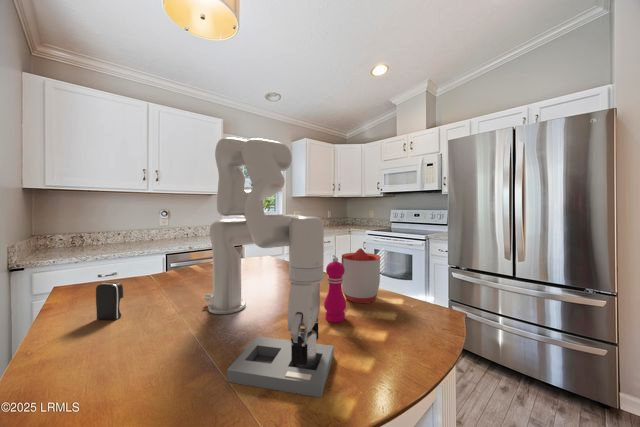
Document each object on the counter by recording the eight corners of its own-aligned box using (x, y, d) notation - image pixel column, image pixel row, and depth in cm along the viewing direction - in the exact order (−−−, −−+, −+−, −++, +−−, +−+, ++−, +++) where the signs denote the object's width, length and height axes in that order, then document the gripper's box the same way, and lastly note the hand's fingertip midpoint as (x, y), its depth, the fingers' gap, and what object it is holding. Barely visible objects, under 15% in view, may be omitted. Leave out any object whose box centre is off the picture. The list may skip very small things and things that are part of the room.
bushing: (292, 375, 55) (292, 337, 55) (298, 362, 59) (299, 327, 59) (313, 378, 54) (313, 340, 54) (318, 365, 58) (318, 329, 58)
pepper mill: (344, 324, 79) (345, 259, 79) (322, 322, 80) (322, 258, 80) (347, 314, 86) (347, 255, 86) (326, 312, 88) (326, 254, 87)
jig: (226, 381, 53) (226, 368, 53) (257, 345, 66) (257, 335, 66) (321, 397, 48) (321, 383, 48) (333, 355, 62) (333, 344, 62)
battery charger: (125, 315, 85) (125, 281, 84) (115, 320, 81) (114, 284, 80) (106, 314, 85) (105, 280, 85) (95, 319, 81) (94, 284, 81)
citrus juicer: (335, 291, 110) (335, 245, 109) (376, 292, 109) (376, 245, 109) (336, 305, 94) (337, 251, 93) (384, 306, 93) (384, 251, 93)
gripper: (301, 263, 65) (300, 330, 66) (274, 283, 48) (274, 372, 49) (330, 265, 63) (329, 333, 64) (313, 286, 47) (313, 378, 47)
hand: (306, 350), depth 56 cm, fingers open, 9 cm apart
